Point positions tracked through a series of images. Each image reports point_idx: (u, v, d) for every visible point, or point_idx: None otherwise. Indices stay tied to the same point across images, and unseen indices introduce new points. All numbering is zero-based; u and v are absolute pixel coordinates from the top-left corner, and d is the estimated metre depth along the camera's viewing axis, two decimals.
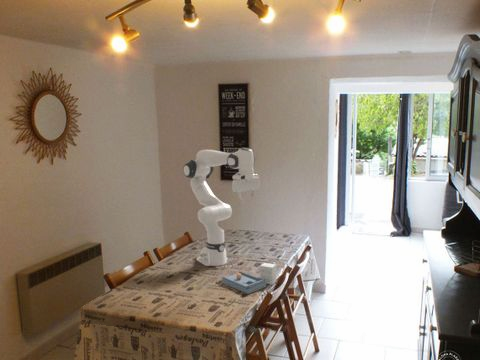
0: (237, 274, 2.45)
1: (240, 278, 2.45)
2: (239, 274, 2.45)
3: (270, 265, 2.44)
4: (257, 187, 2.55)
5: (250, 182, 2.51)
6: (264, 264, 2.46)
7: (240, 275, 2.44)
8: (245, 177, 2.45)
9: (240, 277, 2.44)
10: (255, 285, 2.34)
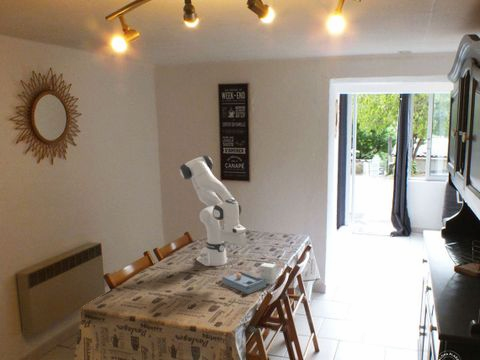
0: (237, 274, 2.45)
1: (240, 278, 2.45)
2: (239, 274, 2.45)
3: (270, 265, 2.44)
4: None
5: None
6: (264, 264, 2.46)
7: (240, 275, 2.44)
8: None
9: (240, 277, 2.44)
10: (255, 285, 2.34)
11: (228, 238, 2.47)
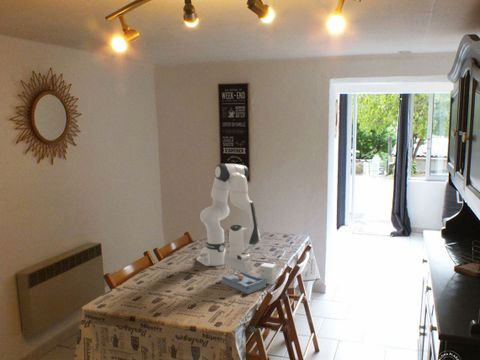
0: (240, 276, 2.43)
1: None
2: (242, 277, 2.43)
3: (270, 265, 2.44)
4: None
5: None
6: (264, 264, 2.46)
7: (242, 278, 2.44)
8: None
9: (241, 279, 2.44)
10: (255, 285, 2.34)
11: (232, 264, 2.46)
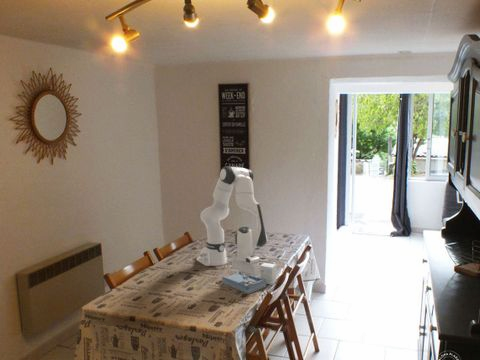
0: (249, 283, 2.38)
1: None
2: (251, 283, 2.38)
3: (270, 265, 2.44)
4: None
5: None
6: (264, 264, 2.46)
7: None
8: None
9: None
10: (255, 285, 2.34)
11: (240, 267, 2.41)
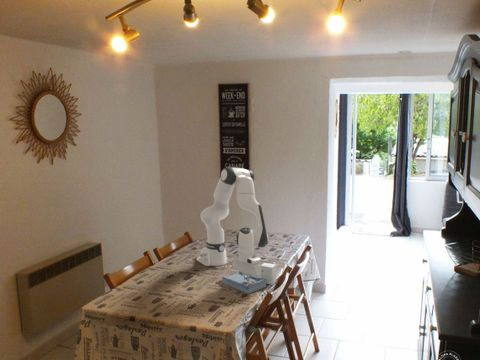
0: (247, 282, 2.39)
1: None
2: (249, 282, 2.39)
3: (270, 265, 2.44)
4: None
5: None
6: (264, 264, 2.46)
7: (250, 283, 2.39)
8: None
9: None
10: (255, 285, 2.34)
11: (242, 267, 2.40)
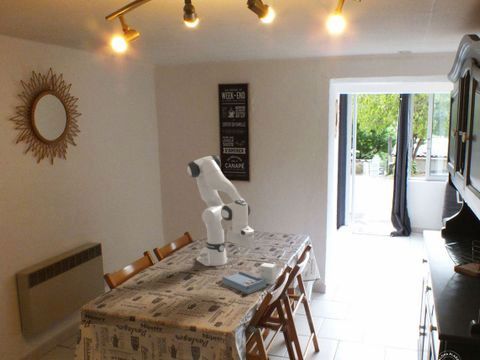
0: None
1: None
2: (248, 281, 2.39)
3: (270, 265, 2.44)
4: None
5: None
6: (264, 264, 2.46)
7: (249, 282, 2.39)
8: None
9: None
10: (255, 285, 2.34)
11: (235, 239, 2.42)
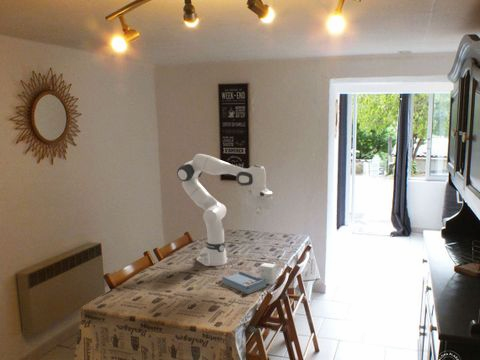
0: None
1: None
2: (248, 281, 2.39)
3: (270, 265, 2.44)
4: None
5: None
6: (264, 264, 2.46)
7: (249, 282, 2.39)
8: None
9: None
10: (255, 285, 2.34)
11: (254, 202, 2.57)
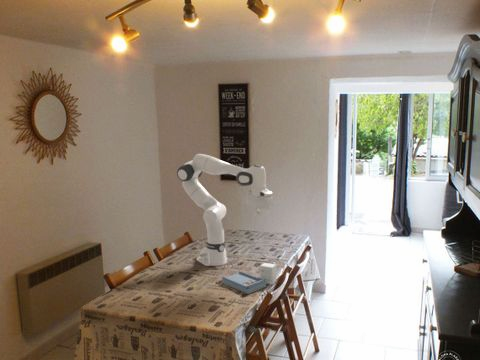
0: None
1: None
2: (248, 282, 2.39)
3: (270, 265, 2.44)
4: None
5: None
6: (264, 264, 2.46)
7: (250, 282, 2.39)
8: None
9: None
10: (255, 285, 2.34)
11: (254, 202, 2.57)
